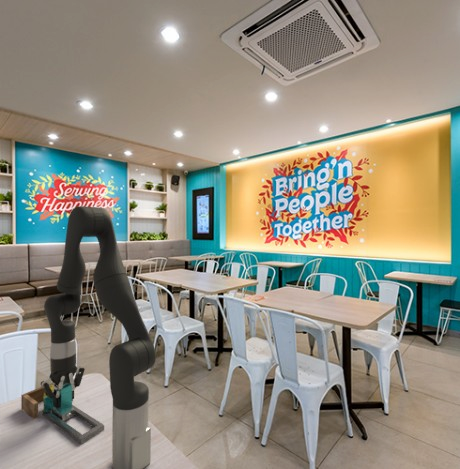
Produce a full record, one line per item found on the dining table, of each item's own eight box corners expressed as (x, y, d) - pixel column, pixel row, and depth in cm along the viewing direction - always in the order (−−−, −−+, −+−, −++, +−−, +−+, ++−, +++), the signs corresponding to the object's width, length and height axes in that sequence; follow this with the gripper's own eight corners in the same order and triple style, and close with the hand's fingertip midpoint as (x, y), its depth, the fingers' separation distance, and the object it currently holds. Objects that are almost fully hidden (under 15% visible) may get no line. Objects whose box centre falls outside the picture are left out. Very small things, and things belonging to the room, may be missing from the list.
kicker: (81, 412, 99) (81, 383, 99) (56, 426, 92) (56, 394, 92) (67, 404, 103) (68, 376, 103) (43, 416, 97) (43, 386, 97)
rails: (104, 429, 91) (104, 425, 91) (81, 444, 85) (81, 439, 85) (64, 404, 104) (64, 399, 104) (42, 415, 98) (42, 410, 98)
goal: (71, 400, 106) (71, 387, 106) (34, 419, 96) (34, 404, 96) (58, 392, 111) (58, 379, 111) (21, 409, 101) (21, 395, 101)
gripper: (46, 364, 89) (46, 419, 89) (89, 348, 101) (90, 397, 101) (34, 358, 93) (35, 411, 93) (77, 344, 105) (78, 391, 105)
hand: (64, 404), depth 97 cm, fingers closed on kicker, 3 cm apart
